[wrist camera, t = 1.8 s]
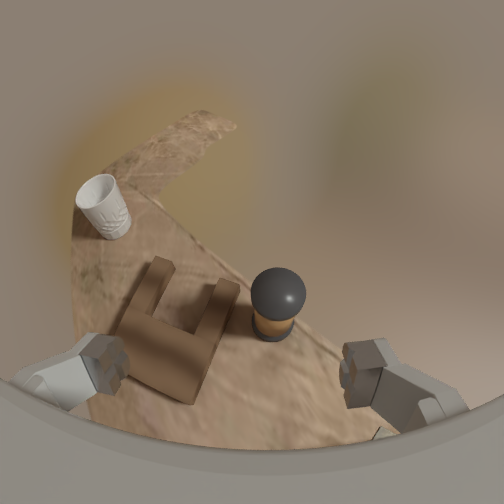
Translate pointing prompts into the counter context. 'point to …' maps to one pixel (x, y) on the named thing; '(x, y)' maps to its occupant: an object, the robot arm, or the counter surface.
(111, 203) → the white cup
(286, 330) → the tan grey capped cylinder
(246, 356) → the counter surface
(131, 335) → the notched board
